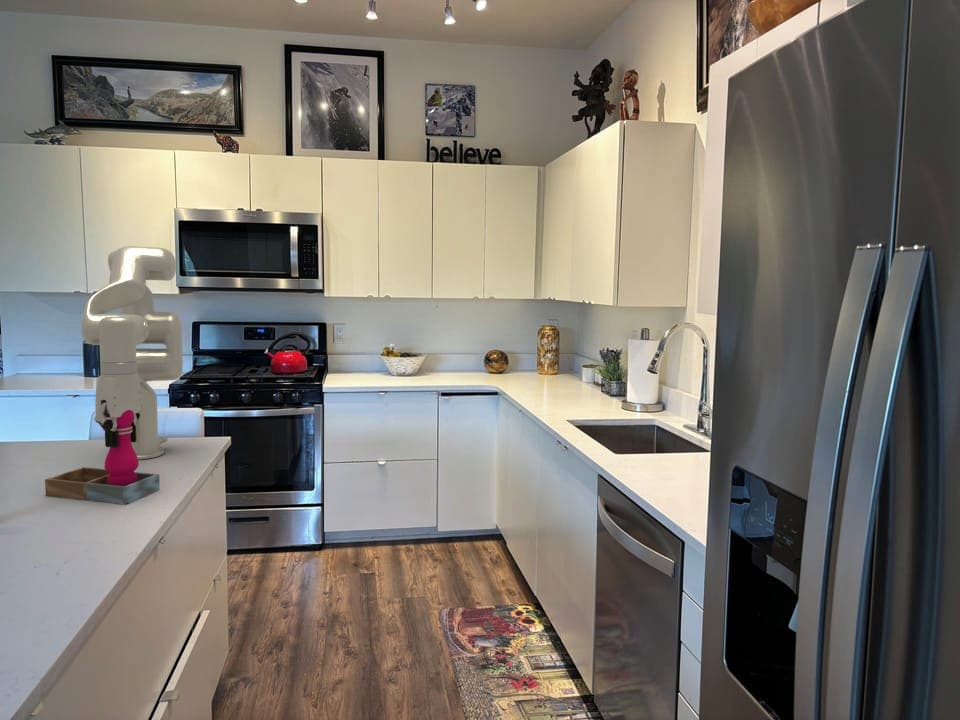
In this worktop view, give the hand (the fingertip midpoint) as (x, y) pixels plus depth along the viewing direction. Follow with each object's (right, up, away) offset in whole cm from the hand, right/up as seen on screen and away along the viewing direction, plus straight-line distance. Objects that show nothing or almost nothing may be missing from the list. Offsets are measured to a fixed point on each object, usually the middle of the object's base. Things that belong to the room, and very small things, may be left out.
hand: (121, 443), depth 159 cm
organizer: (-6, -12, +2) cm, 14 cm away
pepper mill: (0, -10, +1) cm, 10 cm away
